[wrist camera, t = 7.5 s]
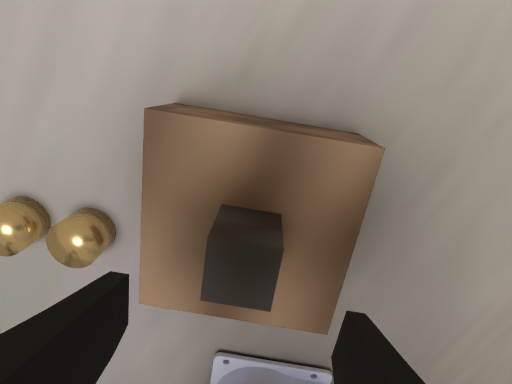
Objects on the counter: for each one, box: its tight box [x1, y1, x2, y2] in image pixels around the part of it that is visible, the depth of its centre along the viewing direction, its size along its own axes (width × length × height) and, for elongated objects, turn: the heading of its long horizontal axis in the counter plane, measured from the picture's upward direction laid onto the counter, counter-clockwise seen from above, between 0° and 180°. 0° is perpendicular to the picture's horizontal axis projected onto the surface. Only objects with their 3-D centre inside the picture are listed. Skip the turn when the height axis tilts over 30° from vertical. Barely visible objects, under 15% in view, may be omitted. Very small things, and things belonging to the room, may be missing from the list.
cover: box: [139, 103, 385, 335], centre depth 16 cm, size 11×11×8 cm
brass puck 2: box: [46, 208, 116, 268], centre depth 20 cm, size 3×3×2 cm
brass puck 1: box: [0, 197, 50, 256], centre depth 20 cm, size 3×3×2 cm
